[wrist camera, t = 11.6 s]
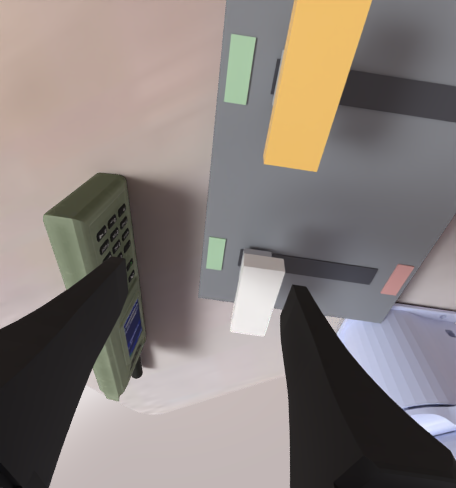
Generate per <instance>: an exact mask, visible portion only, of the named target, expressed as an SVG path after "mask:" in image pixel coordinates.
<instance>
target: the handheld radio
mask: <svg viewBox="0 0 456 488" xmlns="http://www.w3.org/2000/svg"><path fill="white" fill-rule="evenodd" d="M43 222H44V225H45V227H46V230H47V233H48V236H49V239H50V242H51V245H52V248H53V251H54V254H55V257H56V260H57V263H58V266H59V269H60V272H61V275H62V278H63V281H64V284H65V287H66V290H67V289H69V288H70V287H71V286H73V285H74V284H75V283H77V282H78V281H79V280H81V279H82V278H84V277H85V276H86V275H87V274H89V273H90V272H91V271H93V270H94V269H95V268H96V267H98V266H99V265H100V264H102V263H103V262H104V261H105V260H107V259H108V258H109V257H111V256H113V257H119V258H125V259H126V270H127V282H128V295H127V298H126V301H125V304H124V306H123V309H122V311H121V314H120V316H119V318H118V320H117V322H116V324H115V326H114V328H113V329H112V331H111V333H110V335H109V337H108V339H107V341H106V343H105V345H104V347H103V349H102V350H101V352H100V354H99V356H98V358H97V360H96V362H95V364H94V366H93V370H94V373H95V376H96V379H97V382H98V385H99V388H100V390H101V391H102V392H104V394H105V396H106V398H107V399H111V400H115V401H119V397H120V395H121V394H123V392H124V391H125V389H126V387H127V385H128V382H129V380H130V378H131V375H132V377H133V378H135V379H137V378H140V377H141V376H142V373H143V372H142V365H141V359H140V353H141V351H142V348H143V346H144V343H145V341H146V333H145V325H144V317H143V308H142V300H141V292H140V283H139V275H138V268H137V260H136V252H135V245H134V237H133V229H132V222H131V214H130V206H129V198H128V191H127V183H126V179H125V178H124V177H123V176H121V175H118V174H107V173H97V174H96V175H94V176H93V177H92V178H90V179H89V180H88V181H87V182H85V183H84V184H83V185H81V186H80V187H79V188H78V189H76V190H75V191H74V192H72V193H71V194H70V195H68V196H67V197H66V198H65V199H63V200H62V201H61V202H59V203H58V204H57V205H56V206H54V207H53V208H52V209H50V210H49V211H48V212H46V213H45V214H44V216H43Z"/></svg>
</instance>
